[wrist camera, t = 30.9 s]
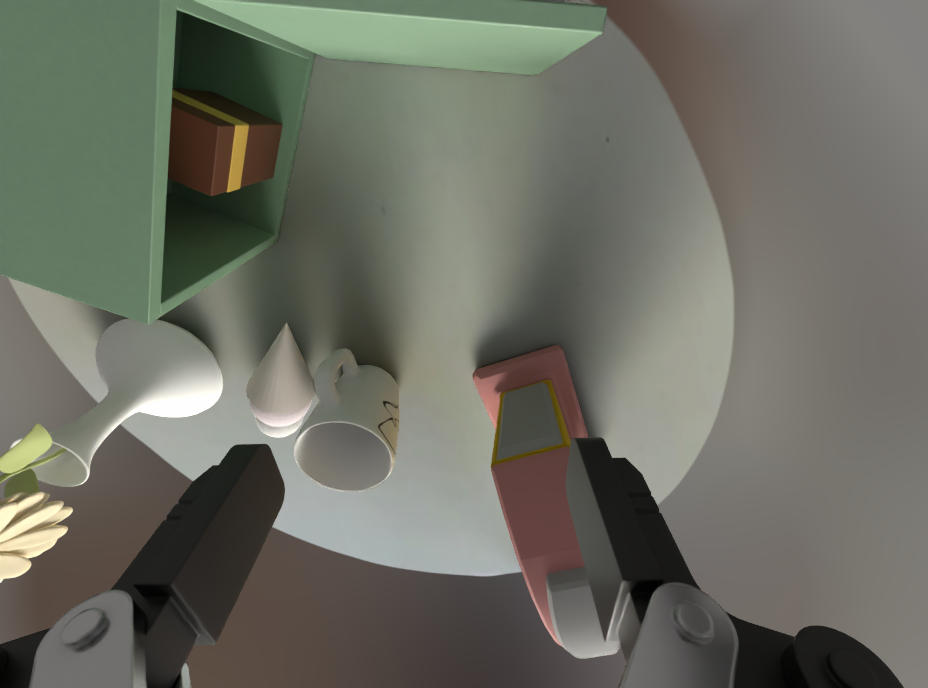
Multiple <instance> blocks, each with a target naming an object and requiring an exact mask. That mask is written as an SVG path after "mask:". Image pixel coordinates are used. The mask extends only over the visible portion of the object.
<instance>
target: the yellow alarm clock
mask: <svg viewBox="0 0 928 688" xmlns="http://www.w3.org/2000/svg"><path fill="white" fill-rule="evenodd" d="M473 380H474V383H475V385H476V387H477V389H478V392H479V394H480V396H481V398H482V401H483V403H484V405H485V407H486V409H487V412H488V414H489V416H490V418H491V421H492V423H493V425H494V427H495V430H496V433H495V440H494V448H493V455H492V463H491V471H492V475H493V479H494V482H495V486H496V489H497V493H498V497H499V500H500V504H501V507H502V511H503V515H504V518H505V521H506V524H507V527H508V531H509V534H510V537H511V540H512V543H513V547H514V550H515V553H516V556H517V559H518V562H519V565H520V567H521V570H522V573H523V575H524V578H525V581H526V583H527V586H528V589H529V591H530V594H531V597H532V599H533V601H534V603H535V605H536V607H537V610H538V612H539V614H540V616H541V618H542V621H543V623H544V625H545V626H546V628H547V630H548V631H549V633H550V634H551V635H552V637H553V639H554V640H555V642H557V643H558V644H559V645H561V646H563V647H564V648H565V649H566V650H567V651H569V652H570V653H571V654H572V655H573V656H575V657H578V658H583V659H584V658H591V657H597V656H604V655H610V654H615V653H616V652H617V651H618V650H619V648H620V643H605V641H604V638H603V634H602V630H601V626H600V622H599V619H598V615H597V611H596V607H595V603H594V599H593V596H592V592H591V588H590V584H589V580H588V577H587V573H586V569H585V565H584V561H583V558H582V554H581V550H580V546H579V542H578V539H577V535H576V531H575V527H574V523H573V520H572V516H571V512H570V508H569V504H568V500H567V494H566V473H567V466H568V458H569V451H570V444H571V440H572V438H589V437H588V434H587V430H586V427H585V423H584V420H583V417H582V413H581V410H580V406H579V403H578V399H577V396H576V393H575V389H574V386H573V382H572V379H571V375H570V372H569V369H568V365H567V362H566V358H565V355H564V352H563V349H562V347H561V346H558V345H554V346H551V347H548V348H544V349H541V350H538V351H534V352H531V353H528V354H525V355H521V356H518V357H515V358H512V359H508V360H505V361H502V362H498V363H495V364H492V365H489V366H485V367H482V368H479V369H476V370H475V371H474V373H473Z"/></svg>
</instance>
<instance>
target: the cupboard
mask: <svg viewBox="0 0 928 688" xmlns="http://www.w3.org/2000/svg"><path fill="white" fill-rule="evenodd" d="M314 58H315V53H314V52H311V51H309V50H307V49H304V48H302V47H300V46H297V45H295V44H293V43H291V42H288V41H286V40H284V39H281V38H279V37H277V36H274V35H272V34H270V33H268V32H265V31H263V30H261V29H258V28H256V27H254V26H251V25H249V24H247V23H244V22H242V21H240V20H238V19H235V18H233V17H231V16H228V15H226V14H224V13H221V12H219V11H217V10H215V9H212V8H210V7H208V6H205V5H203V4H201V3H198V2H196V1H194V0H0V275H3V276H6V277H9V278H12V279H15V280H18V281H21V282H24V283H26V284H29V285H32V286H35V287H38V288H41V289H44V290H47V291H50V292H53V293H56V294H59V295H62V296H65V297H68V298H71V299H74V300H77V301H80V302H83V303H86V304H89V305H92V306H94V307H97V308H100V309H103V310H106V311H109V312H112V313H115V314H118V315H121V316H124V317H127V318H130V319H133V320H136V321H139V322H142V323H145V324H150V323H152V322H153V321H155V320H157V319H158V318H159V317H160V316H162V315H164V314H165V313H167V312H169V311H170V310H172V309H173V308H175V307H176V306H178V305H179V304H181V303H183V302H184V301H186V300H187V299H189V298H190V297H192V296H193V295H195V294H196V293H198V292H200V291H201V290H203V289H204V288H206V287H207V286H209V285H210V284H212V283H214V282H215V281H217V280H218V279H220V278H221V277H223V276H224V275H226V274H228V273H229V272H231V271H232V270H234V269H235V268H237V267H238V266H240V265H242V264H243V263H245V262H246V261H248V260H249V259H251V258H252V257H254V256H256V255H257V254H259V253H260V252H262V251H263V250H265V249H266V248H268V247H270V246H271V245H273V244H274V243H276V242H277V241H278V236H279V231H280V226H281V221H282V216H283V211H284V206H285V201H286V196H287V192H288V187H289V182H290V177H291V172H292V167H293V162H294V157H295V152H296V147H297V142H298V137H299V132H300V127H301V122H302V117H303V112H304V107H305V102H306V97H307V92H308V87H309V82H310V77H311V72H312V67H313V62H314ZM172 87H173V88H183V89H192V90H201V91H210V92H214V93H217V94H219V95H221V96H223V97H225V98H227V99H230V100H232V101H234V102H236V103H238V104H240V105H243V106H245V107H247V108H249V109H251V110H253V111H256V112H258V113H260V114H262V115H264V116H267V117H269V118H271V119H273V120H275V121H277V122H280V123H282V124H283V126H282V132H281V137H280V143H279V148H278V154H277V160H276V165H275V171H274V176H273V178H270V179H267V180H263V181H260V182H257V183H253V184H250V185H247V186H244V187H240V189H237V190H234V191H231V192H224V193H220V194H217V195H214V196H210V195H207V194H205V193H203V192H200V191H198V190H195V189H193V188H190V187H188V186H185V185H183V184H181V183H178V182H176V181H173V180H171V179H168V178H167V177H168V159H169V141H170V122H171V104H172Z"/></svg>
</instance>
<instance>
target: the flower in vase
mask: <svg viewBox="0 0 928 688" xmlns="http://www.w3.org/2000/svg"><path fill="white" fill-rule="evenodd" d="M96 362H97V367H98V370H99V373H100V376H101V378H102V380H103V381H104V383H105V385H106V387H107V388H108V390H109V392H108V395H107V396H106V397H105V398H104V399H103V400H102V401H101V402H100V403H99V404H98V405H97V406H95V407H94V408H93V409H91V410H90V411H89V412H87V413H86V414H84V415H83V416H81V417H80V418H78V419H76V420H75V421H73V422H71V423H70V424H68V425H66V426H64V427H62V428H60V429H58V430H55V431H52V432H49V433H48V432H47V431H46V429H45V428H44V427H43V426H41V425H40V424H36V425H35V426H34V428H33V429H32V430H31V431H30V432H29V433H28V434H27V435H26V436H25V437H23V438H20V439H18V440H16V441H15V442H13V443H12V444H11V447H10V450H8V451H7V452H6V453H5V454H3V455H2V456H1V457H0V471H2V472H4V473H5V474H3V475H2V476H0V483H1V482H3V481H4V480H6V479H7V478H9V477H10V476H13V475H14V474H17V473H19V472H20V473H19V474H17V475H16V476H14V477H13V478H11V479H10V480H9V481H8V482H7V484H6V486H5V491H4V494H5V499H4V500H3V501H2V500H1V498H0V583H1V582H2V580H3V579H4V578H14V577H17V576H19V575H22V574H23V573H24V572H26V571H27V570H28V569H29V568H30V566H31V562H30V560H29V559H27V558H31V557H35V556H37V555H40V554H41V553H42V552H44V551H46V550H48V549H50V548H51V547H52V546H53V545H54V544H55V543H56V541H57V538H59V537H61V536H63V535H64V534H65V533H66V532H67V529H68V528H67V527H66V526H59V525H54V524H56V523H58V522H60V521H62V520H63V519H64V518H66V517H68V516H69V515H70V514H71V513H72V511H73V510H72V508H70V507H63V505H64V503H63V502H62V501H53V502H49V503H46V504H43V503H44V502H46V501H47V499H48V498H49V496H50V494H48V493H43V492H39V487H38V483H37V479H38V480H40V481H42V482H45V483H49V484H52V485H56V486H65V487H72V486H77V485H80V484H83V483H84V482H85V481H86V480H87V479H88V477H89V474H90V463H91V459H92V457H93V455H94V453H95V451H96V450H97V448H98V447H99V446H100V444H101V443H102V442H103V440H104V439H105V438H106V437H107V436H108V435H109V433H111V432H112V430H114V429H115V428H116V427H117V426H118V425H119V424H120V423H121V422H122V421H124V420H125V419H126V418H127V417H129V416H130V415H132V414H134V413H136V412H143V413H147V414H152V415H156V416H162V417H186V416H191V415H195V414H197V413H200V412H202V411H204V410H206V409H208V408H210V407H211V406H212V405H214V404H215V403H216V401H217V400H218V399H219V397H220V395H221V392H222V388H223V379H222V373H221V369H220V366H219V364H218V361H217V360H216V358H215V356H214V355H213V353H212V352H211V351H210V349H209V348H208V347H207V346H206V345H205V344H204V343H203V342H202V341H201V340H199V339H198V338H197V337H196V336H194V335H193V334H191V333H190V332H188V331H186V330H185V329H183V328H181V327H179V326H176V325H174V324H171V323H168V322H165V321H161V320H155V321H153V322H152V323H150V324H145V323H142V322H139V321H136V320H133V319H124V320H121V321H118V322H116V323H114V324H112V325H111V326H110V327H108V328H107V329H106V330H105V332H104V333H103V334H102V336H101V338H100V340H99V342H98V343H97V347H96Z"/></svg>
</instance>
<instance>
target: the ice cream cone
mask: <svg viewBox="0 0 928 688" xmlns="http://www.w3.org/2000/svg"><path fill="white" fill-rule="evenodd" d="M315 391H316V390H315V385H314V380H313V378H312V376H311V374H310V372H309V369H308V367H307V365H306V363H305V361H304V359H303V356H302V354H301V352H300V350H299V348H298V346H297V344H296V341H295V339H294V337H293V335H292V333H291V331H290V328H289V326H288V324H287V322H286V324H285V326H284V327H283V329H282V330H281V332H280V333H279V335H278V336H277V338H276V340H275V341H274V343H273V344H272V346H271V347H270V349H269V350H268V352H267V354H266V355H265V357H264V358H263V360H262V361H261V363H260V364H259V366H258V368H257V369H256V371H255V372H254V374H253V375H252V377H251V378H250V380H249V382H248V384H247V388H246V393H247V397H248V399H249V401H250V406H251V410H252V411H253V413H254V415H255V418H256V423H257V425H258V427H259V429H260V430H261V431H262V432H263V433H265V434H266V435H269V436H272V437H285V436H288V435H290V434H292V433H293V432H295V431H296V430H297V429H298V428H299V427H300V425H301V424H302V422H303V419H304V415H305V414H306V412H307V411H308V409H309V407H310V404H311V400H312V399H313V397H314V395H315Z"/></svg>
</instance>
